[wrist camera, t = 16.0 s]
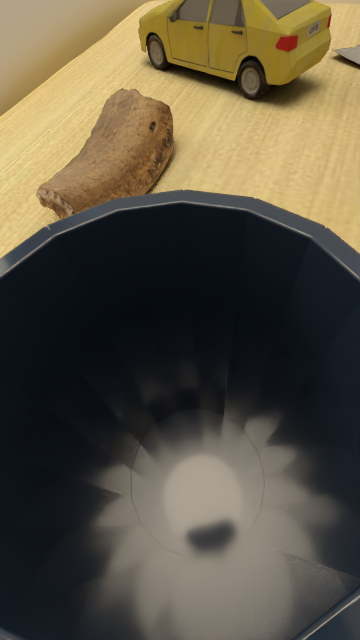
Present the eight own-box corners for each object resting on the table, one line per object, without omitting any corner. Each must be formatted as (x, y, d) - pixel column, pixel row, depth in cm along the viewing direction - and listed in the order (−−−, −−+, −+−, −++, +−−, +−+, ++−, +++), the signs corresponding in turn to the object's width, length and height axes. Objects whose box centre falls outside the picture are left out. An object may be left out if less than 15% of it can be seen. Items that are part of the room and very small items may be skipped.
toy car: (180, 40, 55) (175, -47, 47) (329, 79, 44) (357, -27, 35) (128, 65, 51) (112, -24, 43) (277, 116, 40) (295, 6, 31)
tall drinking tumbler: (212, 612, 13) (224, 1175, 2) (95, 489, 15) (-194, 397, 4) (298, 464, 15) (525, 305, 4) (185, 381, 18) (145, 152, 7)
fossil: (31, 257, 34) (104, 264, 29) (-17, 206, 29) (60, 204, 24) (126, 140, 43) (192, 131, 38) (101, 86, 38) (174, 67, 33)
